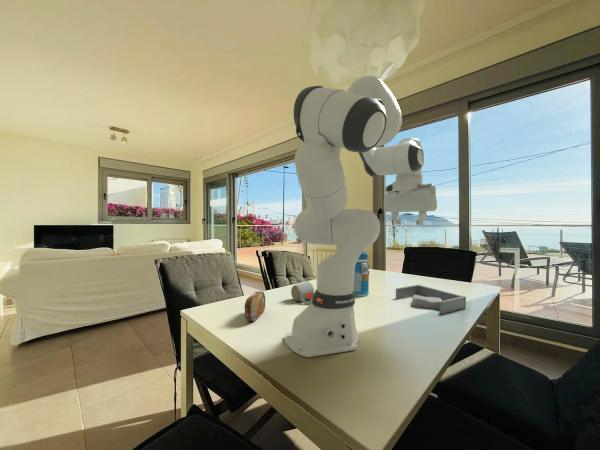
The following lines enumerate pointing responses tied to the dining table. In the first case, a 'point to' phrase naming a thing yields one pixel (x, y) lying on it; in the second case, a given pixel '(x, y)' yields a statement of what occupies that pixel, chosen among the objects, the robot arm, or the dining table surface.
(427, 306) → the stone block
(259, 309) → the tin
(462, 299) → the box
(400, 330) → the dining table surface
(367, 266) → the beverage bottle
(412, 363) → the dining table surface
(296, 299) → the ceramic mug
